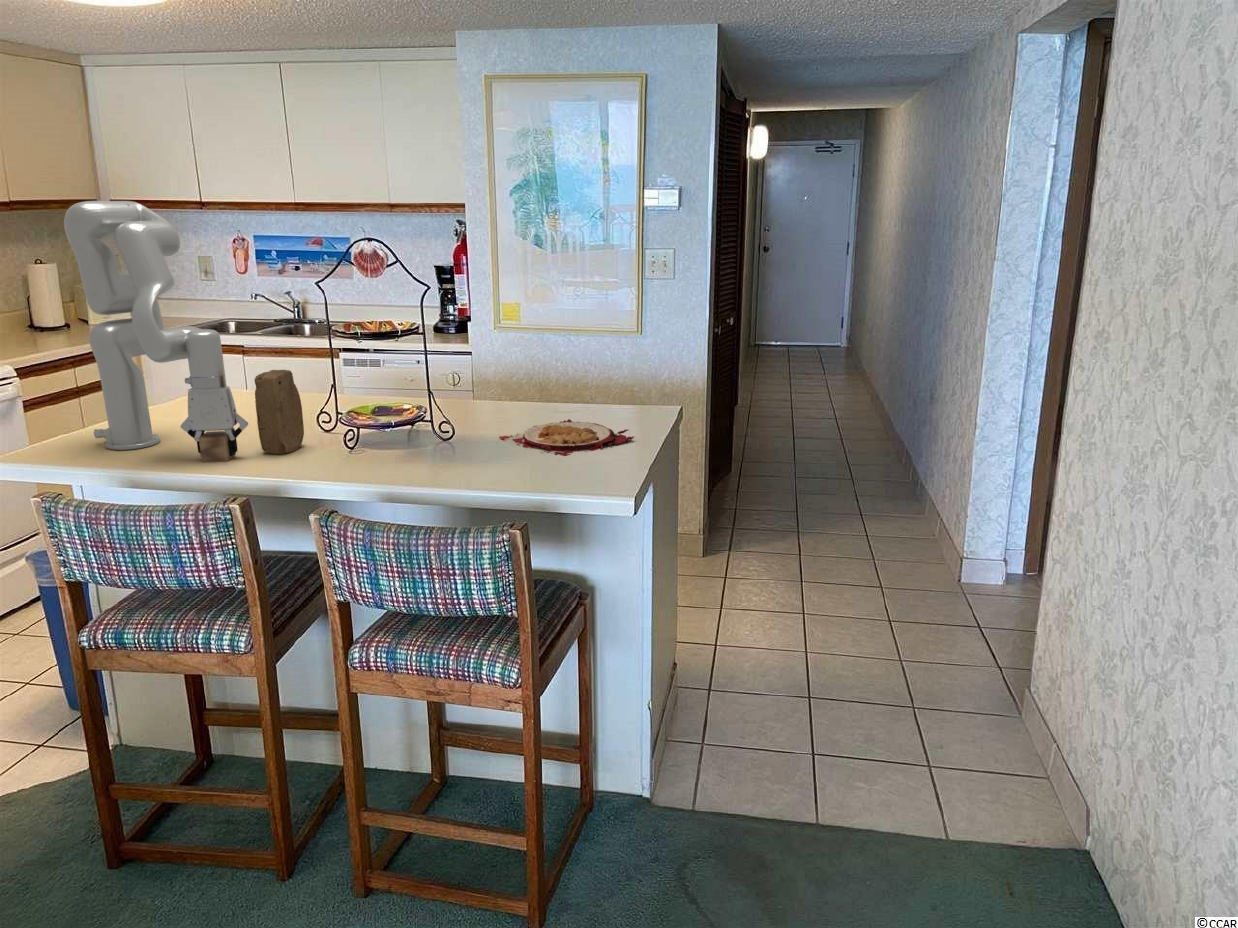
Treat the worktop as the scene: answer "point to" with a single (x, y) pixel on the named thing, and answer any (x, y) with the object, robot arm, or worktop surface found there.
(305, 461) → the worktop surface
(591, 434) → the plate with food
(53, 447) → the worktop surface
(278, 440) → the block
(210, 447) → the cube
